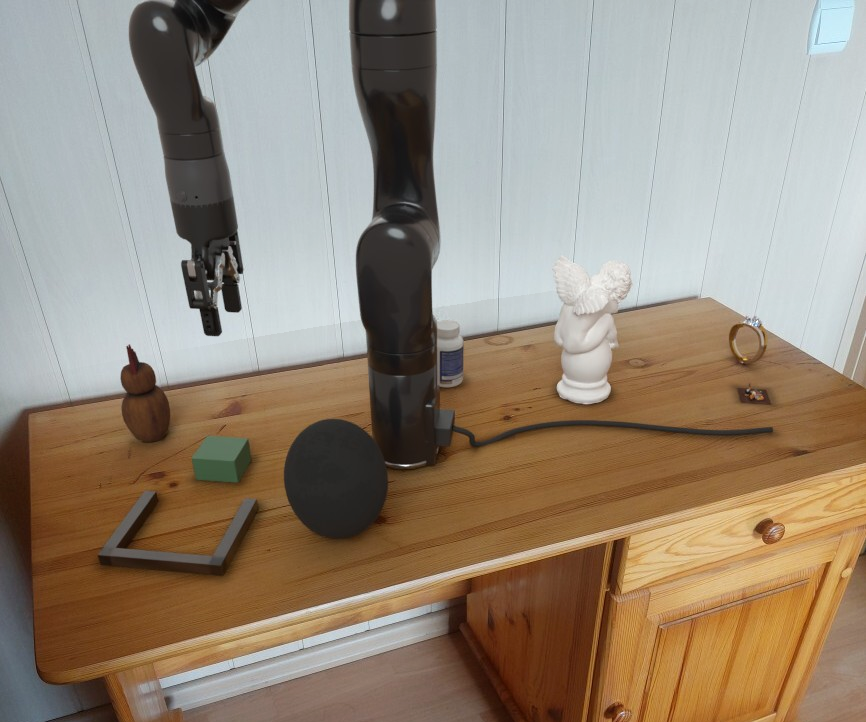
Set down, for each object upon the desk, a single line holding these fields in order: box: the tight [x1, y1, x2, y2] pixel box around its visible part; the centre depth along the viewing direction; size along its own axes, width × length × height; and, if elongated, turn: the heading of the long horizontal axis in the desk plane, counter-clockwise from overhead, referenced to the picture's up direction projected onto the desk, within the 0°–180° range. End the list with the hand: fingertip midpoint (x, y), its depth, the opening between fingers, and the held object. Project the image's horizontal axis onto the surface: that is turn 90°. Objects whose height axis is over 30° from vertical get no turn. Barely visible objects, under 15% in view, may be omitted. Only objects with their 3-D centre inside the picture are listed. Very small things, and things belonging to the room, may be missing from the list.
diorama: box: [736, 382, 772, 405], centre depth 129 cm, size 3×4×2 cm
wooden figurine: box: [119, 343, 171, 443], centre depth 116 cm, size 7×6×15 cm
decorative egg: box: [283, 418, 389, 540], centre depth 98 cm, size 12×12×15 cm
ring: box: [728, 315, 769, 365], centre depth 136 cm, size 7×3×8 cm, turn 26°
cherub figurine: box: [552, 254, 633, 405], centre depth 122 cm, size 12×12×22 cm
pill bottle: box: [437, 319, 465, 389], centre depth 131 cm, size 5×5×10 cm
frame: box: [97, 490, 259, 577], centre depth 101 cm, size 15×14×2 cm
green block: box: [190, 435, 253, 484], centre depth 112 cm, size 6×6×4 cm
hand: (224, 322), depth 109 cm, fingers open, 7 cm apart
